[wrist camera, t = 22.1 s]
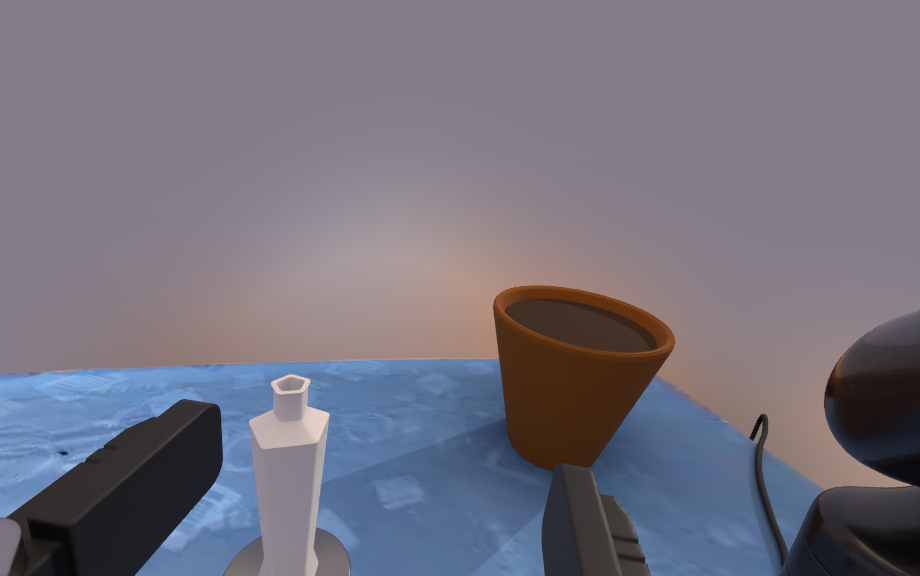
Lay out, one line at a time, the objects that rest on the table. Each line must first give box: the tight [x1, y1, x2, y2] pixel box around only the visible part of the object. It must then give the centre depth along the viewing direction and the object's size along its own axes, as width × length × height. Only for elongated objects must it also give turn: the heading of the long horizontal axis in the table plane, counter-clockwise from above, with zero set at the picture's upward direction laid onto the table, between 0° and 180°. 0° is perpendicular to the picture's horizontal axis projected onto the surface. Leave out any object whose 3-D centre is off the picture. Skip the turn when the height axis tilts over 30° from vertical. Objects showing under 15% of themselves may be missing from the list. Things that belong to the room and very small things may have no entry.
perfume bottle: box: [249, 375, 329, 576], centre depth 27 cm, size 5×4×15 cm
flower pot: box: [493, 286, 675, 471], centre depth 62 cm, size 24×24×20 cm
